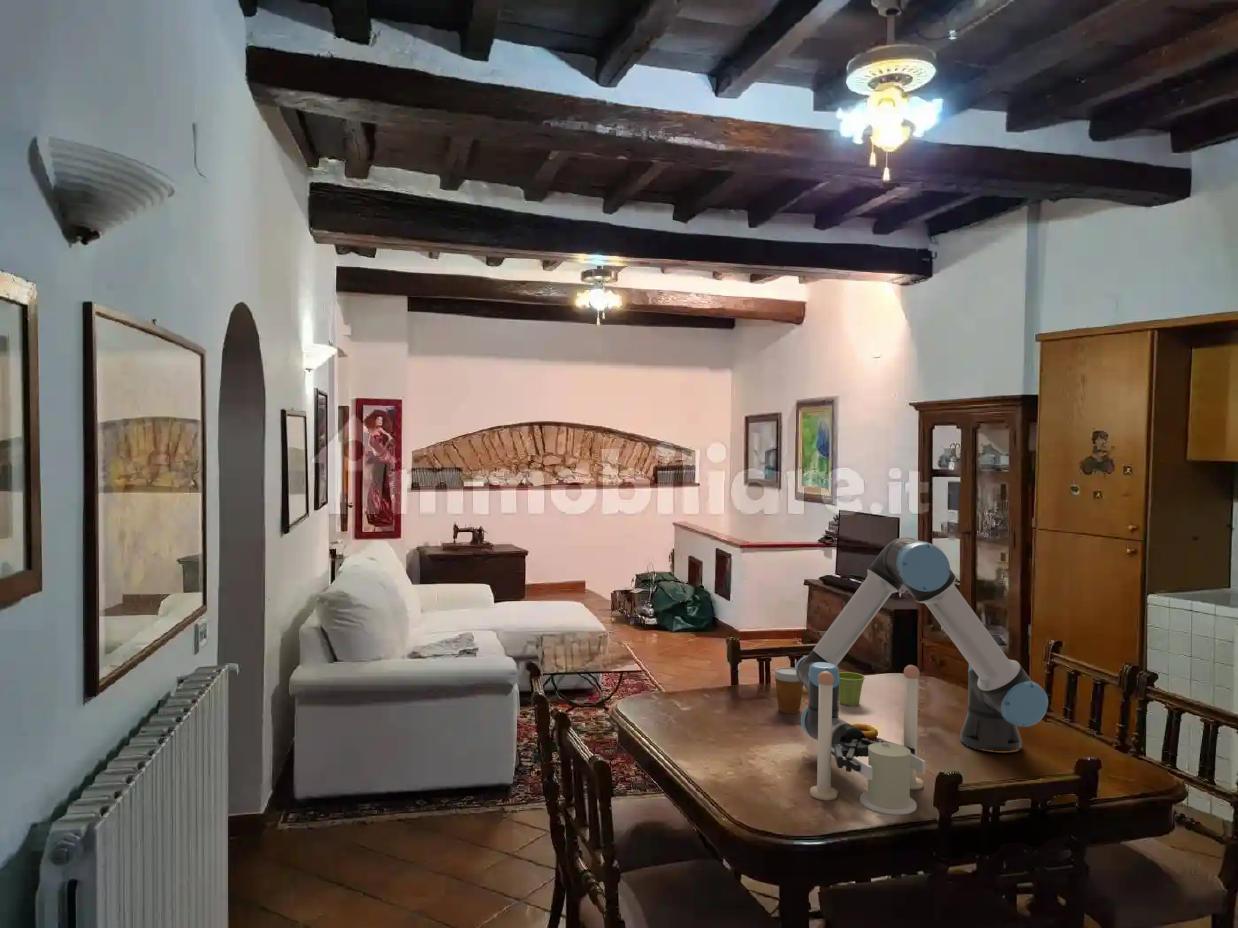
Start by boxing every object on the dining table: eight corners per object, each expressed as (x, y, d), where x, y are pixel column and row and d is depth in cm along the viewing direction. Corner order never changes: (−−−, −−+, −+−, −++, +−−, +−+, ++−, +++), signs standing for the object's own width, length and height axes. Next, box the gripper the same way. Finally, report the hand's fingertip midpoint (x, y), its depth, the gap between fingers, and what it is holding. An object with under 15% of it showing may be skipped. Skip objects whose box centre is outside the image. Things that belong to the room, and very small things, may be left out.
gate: (912, 778, 204) (914, 661, 204) (928, 787, 199) (930, 667, 198) (805, 791, 196) (807, 668, 195) (818, 801, 190) (821, 675, 189)
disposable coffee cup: (805, 716, 252) (806, 675, 252) (772, 713, 254) (773, 673, 253) (804, 706, 261) (805, 667, 261) (773, 704, 263) (774, 665, 263)
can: (901, 792, 194) (902, 739, 194) (916, 808, 185) (917, 754, 185) (861, 792, 194) (862, 739, 194) (875, 809, 185) (875, 754, 185)
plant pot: (827, 700, 269) (828, 672, 268) (853, 697, 271) (854, 670, 271) (844, 708, 260) (844, 680, 260) (870, 706, 262) (871, 678, 262)
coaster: (915, 796, 193) (915, 794, 193) (917, 818, 182) (917, 815, 182) (860, 789, 197) (861, 787, 197) (859, 810, 186) (859, 807, 185)
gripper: (888, 749, 210) (945, 781, 190) (798, 758, 203) (847, 793, 183) (888, 719, 210) (945, 748, 190) (798, 727, 203) (848, 758, 182)
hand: (897, 770), depth 186 cm, fingers open, 13 cm apart
